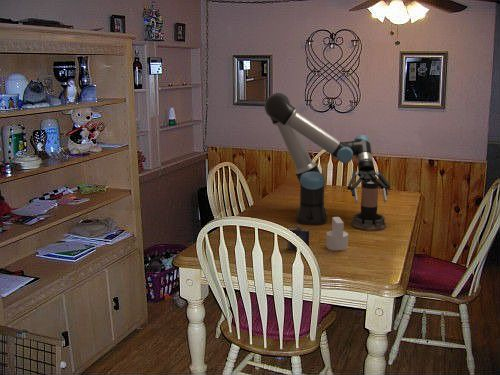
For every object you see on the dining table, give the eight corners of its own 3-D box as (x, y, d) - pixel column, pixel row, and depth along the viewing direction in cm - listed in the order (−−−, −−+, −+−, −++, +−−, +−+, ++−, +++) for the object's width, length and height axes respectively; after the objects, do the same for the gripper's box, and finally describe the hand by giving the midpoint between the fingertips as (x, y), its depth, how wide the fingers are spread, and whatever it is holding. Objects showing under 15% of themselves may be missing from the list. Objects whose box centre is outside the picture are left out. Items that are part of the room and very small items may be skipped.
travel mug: (366, 226, 257) (368, 184, 252) (356, 221, 264) (358, 180, 259) (379, 224, 260) (382, 182, 255) (370, 219, 267) (372, 179, 262)
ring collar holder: (367, 233, 251) (368, 223, 250) (344, 224, 265) (344, 215, 264) (393, 227, 260) (393, 218, 258) (369, 219, 273) (369, 210, 272)
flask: (286, 249, 231) (286, 225, 228) (288, 247, 233) (288, 223, 231) (308, 252, 228) (308, 227, 225) (309, 249, 231) (310, 225, 228)
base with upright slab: (324, 243, 238) (325, 217, 235) (345, 243, 238) (346, 216, 235) (328, 250, 229) (329, 223, 226) (349, 250, 229) (351, 222, 227)
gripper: (389, 167, 272) (395, 205, 261) (338, 168, 271) (343, 205, 260) (392, 159, 265) (399, 197, 254) (341, 159, 265) (345, 197, 254)
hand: (370, 201), depth 257 cm, fingers open, 13 cm apart
